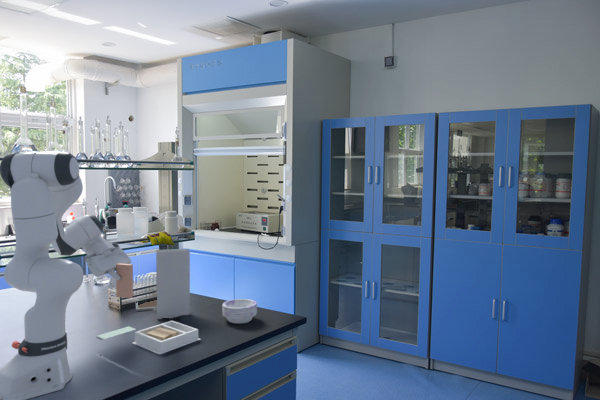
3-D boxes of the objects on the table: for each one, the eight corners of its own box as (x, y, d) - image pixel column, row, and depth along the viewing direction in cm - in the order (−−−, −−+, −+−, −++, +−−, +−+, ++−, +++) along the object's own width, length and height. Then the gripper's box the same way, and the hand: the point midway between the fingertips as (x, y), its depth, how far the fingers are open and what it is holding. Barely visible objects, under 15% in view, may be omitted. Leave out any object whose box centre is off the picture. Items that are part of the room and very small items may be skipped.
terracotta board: (129, 298, 179) (129, 265, 178) (116, 296, 180) (116, 264, 179) (132, 296, 181) (132, 264, 180) (119, 295, 182) (119, 263, 181)
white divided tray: (159, 357, 162) (159, 343, 162) (132, 345, 172) (131, 332, 172) (201, 341, 177) (201, 328, 177) (173, 331, 187) (173, 319, 187)
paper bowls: (226, 314, 210) (226, 297, 210) (259, 315, 209) (259, 298, 208) (218, 325, 195) (218, 307, 194) (253, 327, 194) (253, 309, 193)
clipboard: (173, 290, 245) (179, 307, 217) (173, 293, 245) (179, 310, 217) (135, 293, 238) (136, 310, 210) (135, 296, 238) (136, 314, 210)
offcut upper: (163, 343, 167) (163, 337, 167) (145, 338, 171) (145, 333, 171) (177, 337, 173) (177, 331, 173) (159, 332, 178) (159, 327, 177)
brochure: (188, 312, 211) (188, 248, 209) (189, 316, 206) (189, 250, 204) (156, 315, 207) (156, 250, 205) (156, 319, 202) (156, 252, 199)
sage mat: (116, 345, 171) (116, 344, 171) (96, 337, 180) (96, 335, 180) (148, 335, 182) (148, 334, 182) (128, 327, 191) (128, 326, 191)
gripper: (87, 251, 171) (111, 279, 169) (120, 243, 191) (141, 267, 189) (77, 262, 172) (100, 289, 171) (111, 253, 192) (132, 277, 191)
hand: (122, 278), depth 180 cm, fingers closed on terracotta board, 2 cm apart
